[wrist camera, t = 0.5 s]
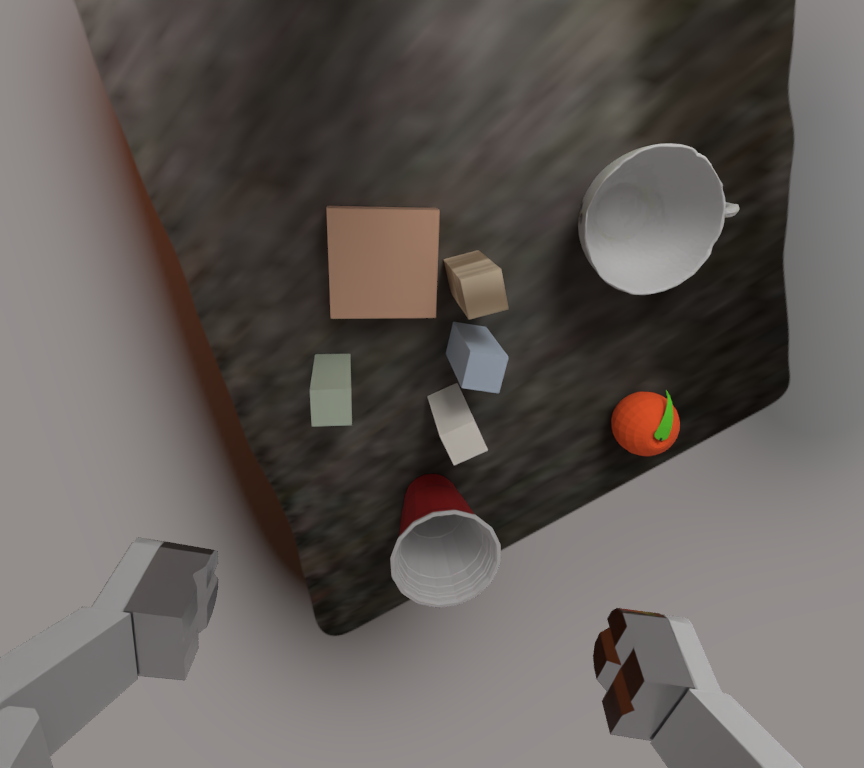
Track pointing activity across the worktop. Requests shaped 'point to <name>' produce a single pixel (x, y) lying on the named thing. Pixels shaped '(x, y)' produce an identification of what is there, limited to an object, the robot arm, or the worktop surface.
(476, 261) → the beech post
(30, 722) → the robot arm
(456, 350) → the dusty blue post
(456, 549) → the plastic cup
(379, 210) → the terracotta tile
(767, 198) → the worktop surface
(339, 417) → the sage green post
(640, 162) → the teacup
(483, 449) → the cream post
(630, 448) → the clementine
